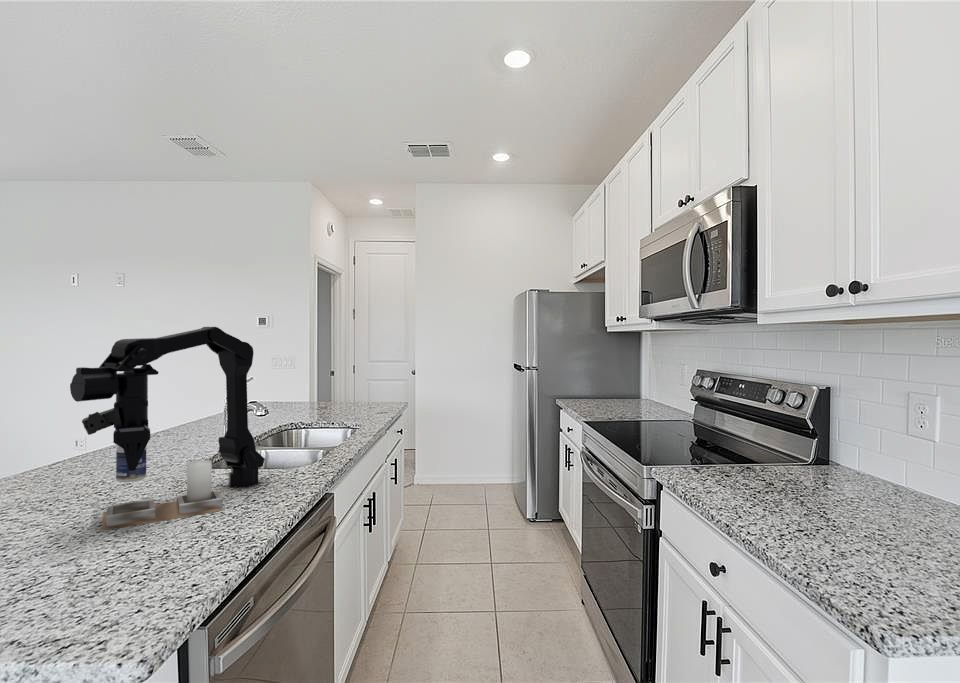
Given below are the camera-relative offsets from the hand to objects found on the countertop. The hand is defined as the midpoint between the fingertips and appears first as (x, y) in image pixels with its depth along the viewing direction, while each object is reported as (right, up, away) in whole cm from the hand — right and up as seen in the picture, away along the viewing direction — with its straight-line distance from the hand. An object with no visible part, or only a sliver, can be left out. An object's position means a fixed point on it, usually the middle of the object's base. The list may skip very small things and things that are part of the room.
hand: (132, 467), depth 109 cm
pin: (+11, -11, +7) cm, 17 cm away
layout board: (+5, -12, +3) cm, 14 cm away
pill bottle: (0, -3, 0) cm, 3 cm away
